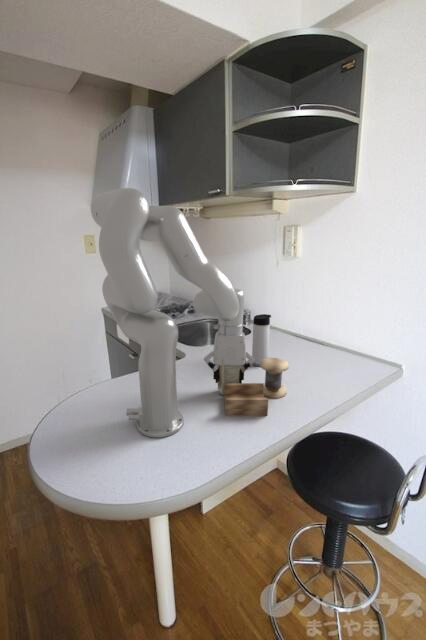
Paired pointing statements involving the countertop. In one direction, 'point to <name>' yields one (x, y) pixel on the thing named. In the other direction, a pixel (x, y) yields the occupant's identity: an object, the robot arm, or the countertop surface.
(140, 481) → the countertop surface
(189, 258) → the robot arm
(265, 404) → the walnut stepped block
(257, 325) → the travel mug
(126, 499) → the countertop surface
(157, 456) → the countertop surface
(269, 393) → the bobbin
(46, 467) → the countertop surface
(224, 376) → the skincare box
